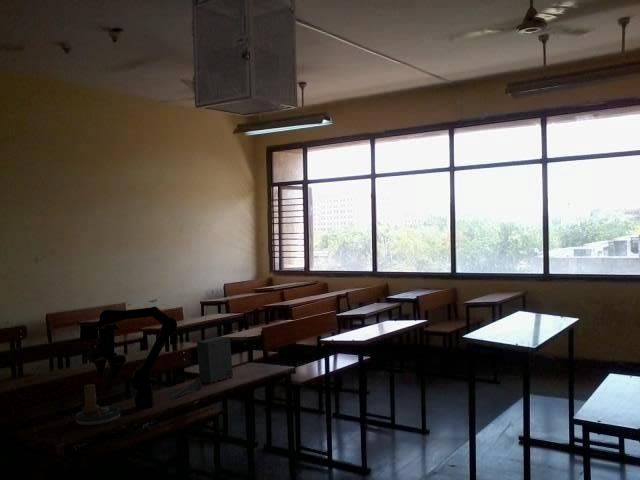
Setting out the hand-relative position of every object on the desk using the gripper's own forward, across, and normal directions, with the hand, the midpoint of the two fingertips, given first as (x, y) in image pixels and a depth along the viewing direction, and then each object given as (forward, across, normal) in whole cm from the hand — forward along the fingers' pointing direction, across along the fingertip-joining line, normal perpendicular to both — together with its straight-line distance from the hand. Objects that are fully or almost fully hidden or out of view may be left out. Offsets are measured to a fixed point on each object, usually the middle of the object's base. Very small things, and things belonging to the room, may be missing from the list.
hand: (106, 378), depth 248 cm
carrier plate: (+13, +8, -8) cm, 17 cm away
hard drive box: (+10, -2, +60) cm, 61 cm away
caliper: (+12, +8, +34) cm, 36 cm away
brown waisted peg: (+12, +8, -11) cm, 18 cm away
